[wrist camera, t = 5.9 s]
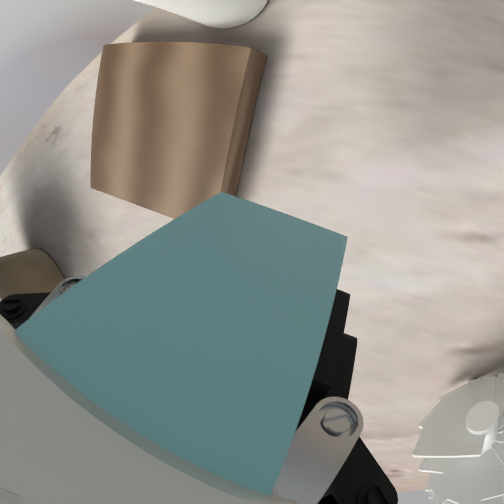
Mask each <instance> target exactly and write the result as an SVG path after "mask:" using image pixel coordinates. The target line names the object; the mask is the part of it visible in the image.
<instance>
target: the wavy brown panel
mask: <svg viewBox="0 0 504 504" xmlns="http://www.w3.org/2000/svg"><path fill="white" fill-rule="evenodd" d="M266 59H267V56H266V55H264V54H262V53H260V52H258V51H257V50H255V49H253V48H251V47H244V46H235V45H225V44H214V43H198V42H134V43H118V44H108V45H104V47H103V52H102V57H101V63H100V69H99V75H98V82H97V90H96V98H95V107H94V118H93V131H92V148H91V188H93V189H96V190H98V191H101V192H104V193H107V194H109V195H112V196H115V197H117V198H120V199H123V200H125V201H128V202H131V203H133V204H136V205H139V206H142V207H144V208H147V209H150V210H152V211H155V212H158V213H160V214H163V215H166V216H168V217H171V218H174V219H176V218H177V217H179V216H181V215H182V214H184V213H186V212H187V211H189V210H191V209H192V208H194V207H196V206H198V205H199V204H201V203H203V202H204V201H206V200H208V199H210V198H211V197H213V196H215V195H216V194H218V193H220V192H223V193H226V194H229V195H232V196H235V197H236V194H237V189H238V184H239V179H240V175H241V170H242V165H243V160H244V156H245V151H246V146H247V142H248V137H249V133H250V128H251V124H252V119H253V115H254V110H255V106H256V102H257V97H258V93H259V89H260V84H261V80H262V76H263V72H264V67H265V63H266Z"/></svg>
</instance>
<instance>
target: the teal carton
mask: <svg viewBox="0 0 504 504" xmlns="http://www.w3.org/2000/svg"><path fill="white" fill-rule="evenodd" d="M346 242H347V237H346V236H344V235H341V234H339V233H336V232H333V231H331V230H328V229H325V228H323V227H320V226H317V225H315V224H312V223H309V222H307V221H304V220H301V219H298V218H296V217H293V216H290V215H287V214H285V213H282V212H279V211H276V210H273V209H270V208H268V207H265V206H262V205H259V204H256V203H253V202H250V201H247V200H244V199H241V198H238V197H235V196H232V195H229V194H226V193H223V192H220V193H218V194H216V195H215V196H213V197H211V198H210V199H208V200H206V201H204V202H203V203H201V204H199V205H198V206H196V207H194V208H192V209H191V210H189V211H187V212H186V213H184V214H182V215H181V216H179V217H177V218H176V219H174V220H173V221H171V222H169V223H168V224H166V225H164V226H163V227H161V228H160V229H158V230H156V231H155V232H153V233H152V234H150V235H148V236H147V237H145V238H144V239H142V240H141V241H139V242H138V243H136V244H134V245H133V246H131V247H130V248H128V249H127V250H125V251H124V252H122V253H121V254H119V255H118V256H116V257H115V258H113V259H112V260H110V261H109V262H107V263H106V264H104V265H103V266H101V267H100V268H98V269H97V270H95V271H94V272H93V273H91V274H90V275H88V276H87V277H85V278H84V279H83V280H81V281H80V282H78V283H77V284H75V285H74V286H73V287H71V288H70V289H68V290H67V291H66V292H64V293H63V294H62V295H60V296H59V297H57V298H56V299H55V300H53V301H52V302H51V303H49V304H48V305H47V306H45V307H44V308H43V309H41V310H40V311H39V312H37V313H36V314H35V315H34V316H32V317H31V318H30V319H28V320H27V321H26V322H25V323H23V324H22V325H21V326H19V327H18V328H17V329H16V330H14V331H15V332H16V334H17V335H18V336H19V337H20V338H21V339H22V340H23V341H24V342H25V343H26V344H27V345H28V346H29V347H30V348H31V349H32V350H33V351H34V352H35V353H36V354H37V355H38V356H39V357H41V358H42V359H43V360H44V361H45V362H46V363H47V364H48V365H49V366H50V367H51V368H53V369H54V370H55V371H56V372H57V373H58V374H59V375H61V376H62V377H63V378H64V379H65V380H66V381H68V382H69V383H70V384H71V385H72V386H74V387H75V388H76V389H77V390H79V391H80V392H81V393H82V394H84V395H85V396H86V397H87V398H89V399H90V400H91V401H93V402H94V403H95V404H97V405H98V406H99V407H101V408H102V409H103V410H105V411H106V412H107V413H109V414H110V415H112V416H113V417H115V418H116V419H118V420H119V421H120V422H122V423H123V424H125V425H126V426H128V427H130V428H131V429H133V430H134V431H136V432H137V433H139V434H141V435H142V436H144V437H145V438H147V439H149V440H150V441H152V442H154V443H155V444H157V445H159V446H161V447H162V448H164V449H166V450H168V451H170V452H171V453H173V454H175V455H177V456H179V457H181V458H183V459H184V460H186V461H188V462H190V463H192V464H194V465H196V466H198V467H200V468H202V469H205V470H207V471H209V472H211V473H213V474H215V475H218V476H220V477H222V478H224V479H227V480H229V481H231V482H234V483H236V484H239V485H241V486H244V487H246V488H249V489H252V490H254V491H257V492H260V493H263V494H265V495H268V496H270V495H271V493H272V490H273V488H274V485H275V483H276V481H277V478H278V476H279V473H280V471H281V468H282V466H283V463H284V461H285V458H286V455H287V453H288V450H289V447H290V445H291V442H292V439H293V437H294V434H295V431H296V428H297V425H298V422H299V419H300V417H301V414H302V411H303V408H304V405H305V402H306V398H307V395H308V392H309V389H310V386H311V383H312V379H313V376H314V373H315V369H316V366H317V363H318V359H319V356H320V352H321V349H322V345H323V341H324V338H325V334H326V330H327V326H328V322H329V318H330V314H331V310H332V306H333V302H334V298H335V294H336V289H337V285H338V281H339V276H340V272H341V267H342V262H343V257H344V252H345V247H346Z"/></svg>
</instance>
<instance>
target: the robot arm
mask: <svg viewBox="0 0 504 504" xmlns="http://www.w3.org/2000/svg"><path fill="white" fill-rule="evenodd" d="M84 278H85V277H84V276H72V277H68V278H66V279H64V280H62V281H61V282H60V283H59V284H58V285H57V286H56V287H55V288H54V289H53V291H52V292H47V293H25V294H12V295H9V296H7V297H5V298H4V299H2V300H1V298H0V504H397V502H398V498H397V492H396V490H395V488H394V486H393V485H392V483H391V482H390V480H389V479H388V477H387V476H386V475H385V473H384V472H383V470H382V469H381V467H380V466H379V464H378V463H377V462H376V460H375V459H374V457H373V456H372V454H371V453H370V451H369V450H368V448H367V447H366V446H365V444H364V443H363V441H362V440H361V438H360V437H359V436H360V434H361V432H362V429H363V417H362V414H361V412H360V410H359V409H358V408H357V406H356V405H354V404H353V403H352V402H351V401H349V400H348V396H349V390H350V385H351V379H352V373H353V367H354V361H355V355H356V348H357V338H356V337H353V336H350V335H347V334H345V333H344V328H345V323H346V317H347V311H348V306H349V299H350V294H348V293H346V292H343V291H341V290H338V289H336V294H335V298H334V302H333V306H332V310H331V314H330V318H329V322H328V326H327V330H326V334H325V338H324V341H323V345H322V349H321V352H320V356H319V359H318V363H317V366H316V369H315V373H314V376H313V379H312V383H311V386H310V389H309V392H308V395H307V398H306V402H305V405H304V408H303V411H302V414H301V417H300V419H299V422H298V425H297V428H296V431H295V434H294V437H293V439H292V442H291V445H290V447H289V450H288V453H287V455H286V458H285V461H284V463H283V466H282V468H281V471H280V473H279V476H278V478H277V481H276V483H275V485H274V488H273V490H272V493H271V495H270V496H268V495H265V494H263V493H260V492H257V491H254V490H252V489H249V488H246V487H244V486H241V485H239V484H236V483H234V482H231V481H229V480H227V479H224V478H222V477H220V476H218V475H215V474H213V473H211V472H209V471H207V470H205V469H202V468H200V467H198V466H196V465H194V464H192V463H190V462H188V461H186V460H184V459H183V458H181V457H179V456H177V455H175V454H173V453H171V452H170V451H168V450H166V449H164V448H162V447H161V446H159V445H157V444H155V443H154V442H152V441H150V440H149V439H147V438H145V437H144V436H142V435H141V434H139V433H137V432H136V431H134V430H133V429H131V428H130V427H128V426H126V425H125V424H123V423H122V422H120V421H119V420H118V419H116V418H115V417H113V416H112V415H110V414H109V413H107V412H106V411H105V410H103V409H102V408H101V407H99V406H98V405H97V404H95V403H94V402H93V401H91V400H90V399H89V398H87V397H86V396H85V395H84V394H82V393H81V392H80V391H79V390H77V389H76V388H75V387H74V386H72V385H71V384H70V383H69V382H68V381H66V380H65V379H64V378H63V377H62V376H61V375H59V374H58V373H57V372H56V371H55V370H54V369H53V368H51V367H50V366H49V365H48V364H47V363H46V362H45V361H44V360H43V359H42V358H41V357H39V356H38V355H37V354H36V353H35V352H34V351H33V350H32V349H31V348H30V347H29V346H28V345H27V344H26V343H25V342H24V341H23V340H22V339H21V338H20V337H19V336H18V335H17V334H16V332H15V331H14V330H16V329H17V328H18V327H19V326H21V325H22V324H23V323H25V322H26V321H27V320H28V319H30V318H31V317H32V316H34V315H35V314H36V313H37V312H39V311H40V310H41V309H43V308H44V307H45V306H47V305H48V304H49V303H51V302H52V301H53V300H55V299H56V298H57V297H59V296H60V295H62V294H63V293H64V292H66V291H67V290H68V289H70V288H71V287H73V286H74V285H75V284H77V283H78V282H80V281H81V280H83V279H84Z"/></svg>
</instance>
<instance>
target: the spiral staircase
mask: <svg viewBox="0 0 504 504" xmlns="http://www.w3.org/2000/svg"><path fill="white" fill-rule="evenodd" d="M439 401H440V403H439V404H438V405H437V406H436V407H435V408H434V409H433V410H432V411H431V412H430V413H429V415H428V416H427V417H426V418H425V419H424V420H423V421H422V422H421V423H420V424H419V427H420V428H421V429H422V431H421V434H420V437H419V440H418V442H417V445H416V447H415V450H414V453H413V455H412V456H413V457H424V459H423V462H422V464H421V466H420V468H419V471H424V472H431V473H430V477H429V480H428V483H427V487H426V491H430V494H429V497H428V499H433V501H434V504H504V373H502V372H500V373H499V374H498V376H497V377H496V376H493V377H487V378H480V379H473V380H468V385H466V384H465V385H463V386H461V387H459V388H457V389H456V390H454V391H452V392H450V393H448V394H446V395H444V396H442V397H441V398H439Z"/></svg>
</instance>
